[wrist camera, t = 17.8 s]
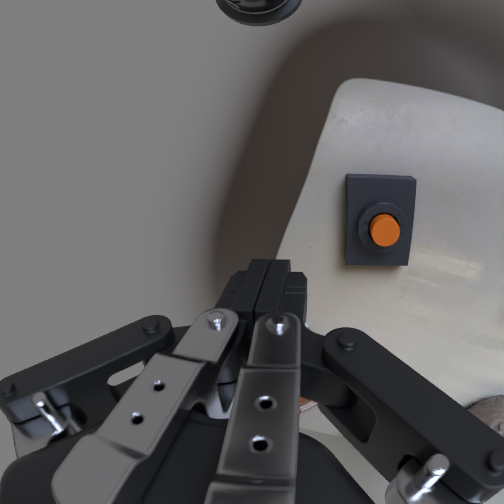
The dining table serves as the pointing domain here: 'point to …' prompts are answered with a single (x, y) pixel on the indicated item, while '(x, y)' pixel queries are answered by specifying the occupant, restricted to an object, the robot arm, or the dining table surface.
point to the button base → (371, 205)
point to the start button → (384, 230)
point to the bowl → (491, 413)
